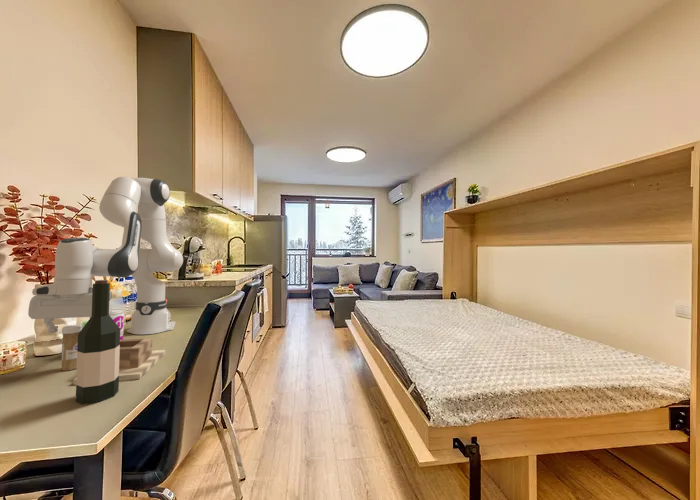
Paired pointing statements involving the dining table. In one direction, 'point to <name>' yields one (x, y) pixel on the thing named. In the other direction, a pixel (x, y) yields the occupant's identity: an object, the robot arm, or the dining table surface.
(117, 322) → the supplement can
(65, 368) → the sprinkles bottle
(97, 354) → the wine bottle
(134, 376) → the holder board
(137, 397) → the dining table surface
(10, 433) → the dining table surface
